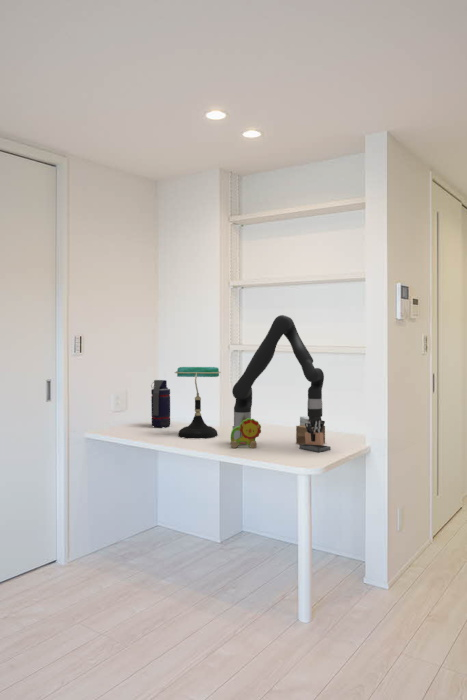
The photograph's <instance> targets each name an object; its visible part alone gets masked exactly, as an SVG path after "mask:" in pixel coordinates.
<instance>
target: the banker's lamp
mask: <svg viewBox="0 0 467 700" xmlns="http://www.w3.org/2000/svg"><path fill="white" fill-rule="evenodd" d="M174 374H176V377H179V378H180V377H181V378H182V377H183V378H194V384H195V389H196V396H195V397H194V412H195V413H194V416H193V419H192V420H191V423H190V424H189V425H188V426H184V427H182V428H181V429H179V431H178V434H177V435H179V436H180V437H179V436H178V437H179V438H182V437H185V438H184V439H188V438H205V439H211V438H216V437H217V436H218V430H217V429H216V428H214V427H213V426H211V425H207V423H205V421H204V419H203V417H202V413H201V411H202V408H201V407H202V406H201V401H202V398H201V397H200V393H199V389H198V385H197V378H217V377H220V374H221V371H220V370H219V367H216V366H179V367H178V368H177V371H175V372H174ZM215 436H216V437H215Z"/></svg>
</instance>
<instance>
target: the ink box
mask: <svg viewBox="0 0 467 700" xmlns="http://www.w3.org/2000/svg"><path fill="white" fill-rule="evenodd" d="M308 420H309V417H308V416H299V426H300V425H305V423H308V422H309V421H308Z"/></svg>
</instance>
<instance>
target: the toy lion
mask: <svg viewBox="0 0 467 700" xmlns="http://www.w3.org/2000/svg"><path fill="white" fill-rule="evenodd" d="M235 431H240V432H241V433H242V436H241V437H239V438H238V439H237V440H235V439H234V432H235ZM261 433H262V425H261V424H260V422H259V421H258V420H255V419H254V418H251V419H250V418H247V419H246V420H243V421H242V423H241V424H240V426H238V427H235V428H234V429H233V428H232V430H231V433H230V446H231V447H232V448H233V449H236V448H238V446H241V444H246V445H247V446H249V447H250V448H251V449H256V448H257V446H258V443H257V441H256V438H258V437H259V436H260V435H261ZM246 445H245V446H246Z"/></svg>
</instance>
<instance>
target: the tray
mask: <svg viewBox="0 0 467 700" xmlns="http://www.w3.org/2000/svg"><path fill="white" fill-rule="evenodd" d="M298 445H299V447H298V449H299V450H303V451H309V452H313V453H323V452H328V451H331V446H330V445H329V446H328V445H325V444H324V445H309V444H303V445H301V444H298Z"/></svg>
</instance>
